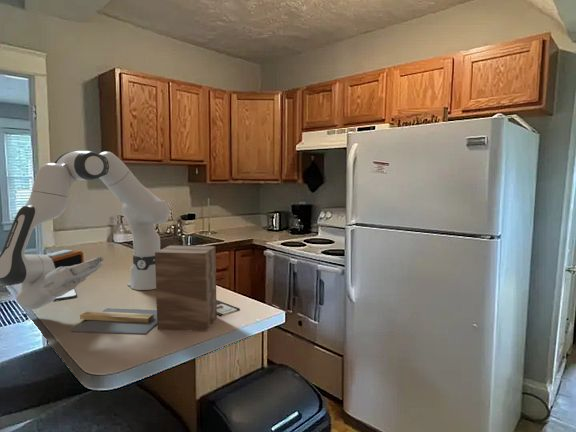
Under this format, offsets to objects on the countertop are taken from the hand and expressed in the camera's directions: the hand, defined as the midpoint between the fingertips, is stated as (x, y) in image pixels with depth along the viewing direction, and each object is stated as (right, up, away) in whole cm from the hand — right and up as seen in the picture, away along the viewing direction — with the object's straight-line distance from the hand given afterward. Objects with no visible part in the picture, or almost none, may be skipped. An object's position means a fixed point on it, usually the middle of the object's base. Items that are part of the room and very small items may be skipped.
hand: (95, 260), depth 127 cm
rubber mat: (+9, -20, +2) cm, 22 cm away
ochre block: (+6, -20, +2) cm, 21 cm away
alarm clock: (-48, -14, +60) cm, 78 cm away
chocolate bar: (+37, -20, +15) cm, 45 cm away
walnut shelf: (+31, -21, 0) cm, 37 cm away
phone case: (-28, -18, +30) cm, 45 cm away
